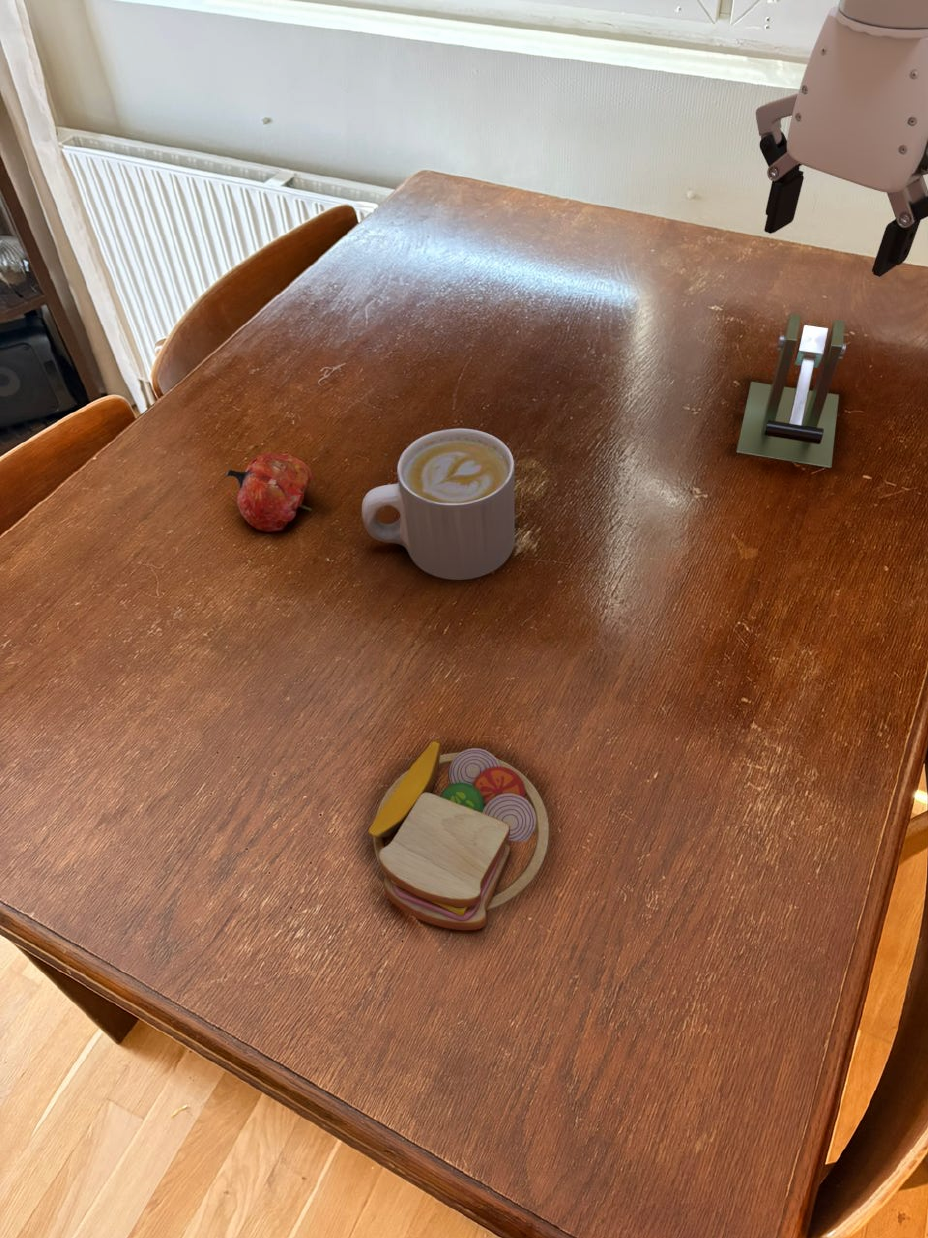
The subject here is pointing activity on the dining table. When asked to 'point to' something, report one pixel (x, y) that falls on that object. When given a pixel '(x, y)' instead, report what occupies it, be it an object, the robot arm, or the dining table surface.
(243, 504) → the pomegranate
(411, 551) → the coffee mug
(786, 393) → the bracket
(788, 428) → the lever
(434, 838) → the toy sandwich meal
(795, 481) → the dining table surface
